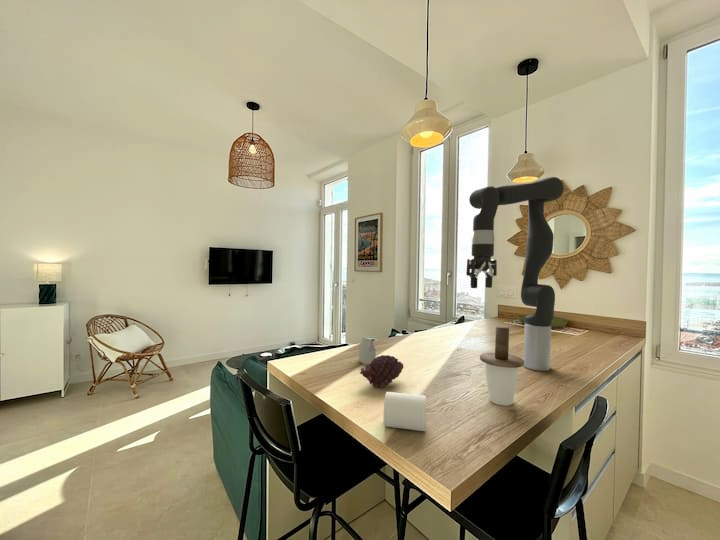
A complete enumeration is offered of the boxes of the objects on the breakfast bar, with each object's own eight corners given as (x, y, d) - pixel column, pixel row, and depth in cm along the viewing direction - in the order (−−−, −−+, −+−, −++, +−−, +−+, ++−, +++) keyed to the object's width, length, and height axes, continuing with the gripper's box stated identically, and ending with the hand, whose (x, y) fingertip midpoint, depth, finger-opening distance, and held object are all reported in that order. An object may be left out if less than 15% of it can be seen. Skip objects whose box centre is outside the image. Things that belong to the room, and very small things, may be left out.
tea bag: (367, 366, 122) (367, 340, 122) (358, 361, 128) (359, 336, 128) (375, 364, 124) (375, 339, 124) (366, 359, 130) (367, 336, 130)
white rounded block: (425, 438, 73) (426, 404, 72) (382, 432, 74) (383, 399, 74) (425, 414, 84) (426, 384, 84) (388, 409, 86) (389, 381, 86)
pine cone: (393, 375, 113) (394, 347, 112) (413, 384, 105) (414, 354, 104) (353, 386, 102) (354, 355, 102) (372, 396, 94) (373, 364, 94)
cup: (479, 394, 98) (481, 356, 98) (509, 395, 97) (510, 356, 97) (490, 407, 89) (492, 365, 88) (523, 408, 88) (524, 366, 88)
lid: (497, 353, 101) (498, 322, 101) (533, 364, 90) (534, 329, 90) (471, 357, 95) (472, 325, 95) (505, 370, 85) (506, 333, 85)
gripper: (479, 241, 106) (477, 289, 107) (503, 243, 114) (502, 288, 114) (461, 242, 113) (460, 287, 113) (485, 244, 120) (484, 286, 121)
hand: (481, 287), depth 114 cm, fingers open, 8 cm apart
